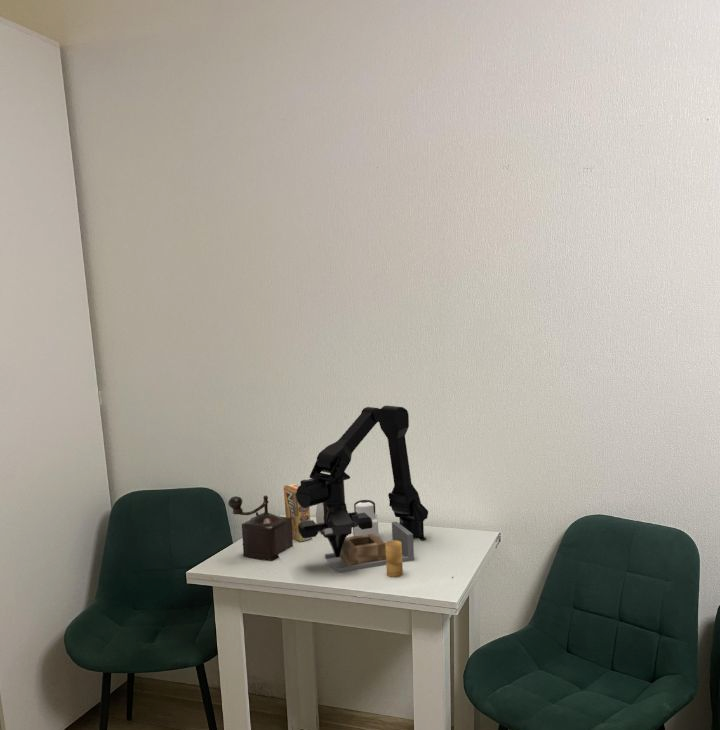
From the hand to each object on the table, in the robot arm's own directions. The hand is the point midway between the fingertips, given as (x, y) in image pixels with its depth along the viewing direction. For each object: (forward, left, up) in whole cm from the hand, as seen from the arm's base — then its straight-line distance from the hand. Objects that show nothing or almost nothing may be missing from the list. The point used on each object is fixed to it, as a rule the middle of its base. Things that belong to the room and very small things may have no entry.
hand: (337, 556), depth 189 cm
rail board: (-9, 0, -3) cm, 9 cm away
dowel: (-11, +13, -3) cm, 17 cm away
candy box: (+4, -29, -3) cm, 29 cm away
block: (-7, 0, -2) cm, 7 cm away
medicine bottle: (-13, -16, -3) cm, 21 cm away
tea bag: (-6, -31, -3) cm, 32 cm away
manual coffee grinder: (+17, -18, -3) cm, 25 cm away
